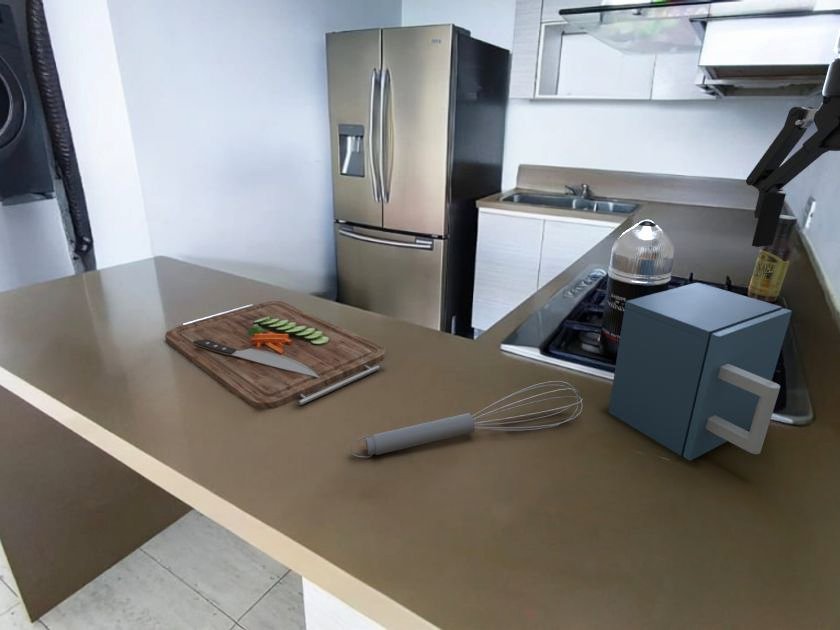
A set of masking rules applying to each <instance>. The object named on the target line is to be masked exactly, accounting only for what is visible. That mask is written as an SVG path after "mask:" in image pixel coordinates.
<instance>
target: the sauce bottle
mask: <svg viewBox="0 0 840 630" xmlns="http://www.w3.org/2000/svg"><path fill="white" fill-rule="evenodd" d="M797 221H798V217H796V216H793V215H786V214H785V215H784V214H780V218H779V222H778V226H777V229H776V233H775V237H774V241H773V244H772V245H770V246H762V247H761V248H760V249H759V252H758V256H757V259H756V261H755V266H754V267H753V272H752V275H751V279H750V282H749V285H748V290H747V297H750V298H753V299H757V300H760V301H764V302H767V303H773V302H776V301H777V300H778V296H780V294H781V293H780V292H781V289H782V286H783V283H784V280H785V278H786V275H787V271H788V268H789V265H790V262H791V257H792V254H793V250H794V245H793V242H792V234H793V232H794V231H793V230H794V227H795V225H796V224H797Z"/></svg>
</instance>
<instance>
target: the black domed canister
mask: <svg viewBox="0 0 840 630" xmlns="http://www.w3.org/2000/svg"><path fill="white" fill-rule="evenodd" d="M674 247H675V246H674V244H673V242H672V240H671V239H670V237H669V236H668V235H667V234H666V232H665V231H664V230H663V229H661V228H660V227H659V226H658V225H657V224H656V223H655V222H654V221H652V220H650V219H645V220H641V221H640V222H639V223H636V224H635V225H634V226H632V227H630V228H629V229H627V230H625V231H624V232H623V233H622V234H621V235H620V236H619V237H618V238H616V240H615V242H614V243H613V245H612V248H611V254H610V260H609V261H610V262H609V266H608V270H607V275H608V277H607V283H606V291H605V298H604V304H603V305H604V306H603V312H602V319H601V327H600V333H599V341H598V347H599V349H600V351H601V352H602V353H603V354H604V355H605V356H606V357H608V358H610V359H613V360H614V361H616V360H617V354H618V348H619V341H620V335H621V329H622V322H623V316H624V310H625V303H626V301H629V300H632V299H636V298H640V297H644V296H648V295H651V294H655V293H659V292H663V291H667V290H669V285H670V284H669V283H670V282H671V281H672V272H673V267H674V262H675V261H674V260H675V253H676V252H675V248H674ZM601 329H602V330H601Z"/></svg>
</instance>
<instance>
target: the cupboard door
mask: <svg viewBox="0 0 840 630" xmlns="http://www.w3.org/2000/svg"><path fill="white" fill-rule="evenodd" d="M792 313H793V310H791V309H787V308H782V309H781V310H779V311H776V312H773V313H770V314H767V315H764V316H761V317H759V318H756V319H753V320H750V321H747V322H744V323H741V324H738V325H735V326H733V327H730V328H727V329H724V330H721V331H718V332H715V333H712V334H711V338H710V343H709V347H708V351H707V355H706V360H705V364H704V368H703V373H702V377H701V381H700V386H699V390H698V394H697V398H696V403H695V407H694V411H693V416H692V420H691V424H690V429H689V433H688V437H687V442H686V446H685V450H684V454H683V455H682V457H683V458H684V459H686V460H688V461H693V460H694V459H696V458H698V457H700V456H702V455H704V454H706V453H708V452H710V451H711V450H713V449H716V448H718V447H720V446H721V445H723V444H725V443H727V442H728V443H731V444H732V445H734V446H736V447H739V448H740V449H742V450H744V451H746V452H748V453H750V454H752V455H759V454H761V452H762V449H763V445H764V443H765V439H766V436H767V433H768V430H769V426H770V422H771V419H772V417H773V412H774V410H775V406H776V403H777V400H778V396H779V393H780V389H781V385H780V384H778V383H777V382H775V381H773V378H774V376H775V375H774V374H775V370H776V367H777V364H778V361H779V357H780V353H781V350H782V347H783V343H784V340H785V337H786V333H787V330H788V326H789V323H790V321H791V317H792Z"/></svg>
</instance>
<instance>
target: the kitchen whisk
mask: <svg viewBox="0 0 840 630" xmlns="http://www.w3.org/2000/svg"><path fill="white" fill-rule="evenodd" d="M548 383H563V384H567V385H568V386H570V387H571V388H570V387H568V386H567V385H561V384H548ZM552 386H553V387H554V386H557V387H563V388H559V389H555V390H551V391H547V392H543V393H539V394H536V395H533V396H529V397H527V398H523V399H521V400H517V401H515V402H512V403H509V404H506V405H503V406H501V407H498V408H496V409H493V410H491V411H487V412H486V413H484V414H481V415H479V416H477V415H478V414H480V413H482V412H484V411H486V410H488V409H489V408H492V407H493V406H495V405H497V404H499V403H501V402H504V401H506V400H507V399H509V398H512V397H514V396H517V395H519V394H522V393H524V392H527V391H531V390H534V389H539V388H543V387H552ZM566 390H570V391H572V392H573V393H574V394H575V396H574V395H571V396H570V395H564V396H557V397H550V398H549V397H548V398H544V399H539V400H535V401H532V402H527V403H524V404H520V405H516V406H513V407H509V406H512V405H514V404H518V403H520V402H523V401H526V400H529V399H533V398H535V397H539V396H542V395H546V394H549V393H554V392H558V391H566ZM577 393H578V394H577ZM559 398H560V399H561V398H576V399H575V401H574V402H573V403H572V404H568V405H565V406H561V407H557V408H553V409H547V410H543V411H537V412H532V413H525V414H522V415H515V416H510V417H503V418H497V419H490V420H484V421H478V422H475V421H477V420H480V419H483V418H486V417H489V416H493V415H496V414H498V413H502V412H506V411H509V410H513V409H515V408H519V407H522V406H526V405H530V404H535V403H539V402H542V401H547V400H553V399H559ZM583 400H584V399H583V398H582V397H580V391H579V390H578V389H576V388H575V387H573V385H571V384H570V383H569V382H565V381H561V380H554V381H553V380H551V381H550V380H549V381H545V382H541V383H537V384H533V385H531V386H527V387H525V388H523V389H521V390H518V391H516V392H513V393H512V394H510V395H507V396H505V397H503V398H500V399H499V400H497V401H496V402H494V403H492V404H490V405H488V406H487V407H485V408H483V409H481V410H480V411H478V412H476V413H474V414H473V415H472V414H471V413H470V412H467V413H463V414H459V415H454V416H449V417H445V418H441V419H436V420H432V421H428V422H423V423H418V424H415V425H411V426H405V427H402V428H397V429H391V430H387V431H384V432H379V433H375V434H372V435H371V436H368V435H364V436H361V437H360V438H358V439H357V440H355V441H354V442H353V443H352V444H351V446H350V452H351V454H352V455H353V456H355V457H357V458H371V457H372V456H373V455H376V456H379V455H383V454H388V453H392V452H396V451H399V450H400V451H401V450H404V449H408V448H409V449H410V448H412V447H416V446H421V445H426V444H429V443H434V442H437V441H442V440H447V439H450V438H455V437H459V436H462V435H467V434H471V433H472V434H473V433H474V432H475V430H476V429H478V430H490V431H508V432H509V431H515V432H516V431H517V432H518V431H520V432H521V431H534V430H539V429H540V430H541V429H542V428H544V429H547V428H552V427H557V426H559V425H561V424H563V423H564V424H565V423H567V422H569V421H571V420H574V419H576V418H577V417H578V416H579V415H580V414H581V413H582V410H583V407H584V405H583V402H582V401H583ZM579 404H581V407H580V411H579V413H577V414H576V412H577V411H578V408H579ZM575 405H576V408H575V410H574V412H573V414H572V415H571V416H569V417H568V418H567V419H566V420H564V421H560V422H556V423H552V424H543V425H534V426H521V427H520V426H516V427H515V426H509V427H508V426H507V427H505V426H501V427H499V426H498V427H497V426H493V425H506V424H515V423H521V422H527V421H528V422H529V421H533V420H537V419H538V417H536V418H530V419H524V420H518V421H517V420H516V421H508V422H497V423H489V422H495V421H502V420H508V419H514V418H520V417H526V416H531V415H536V414H537V415H538V414H542V413H546V412H551V411H552V412H553V411H556V410H559V411H558V412H555V413H552V414H548V415H544V416H540V417H539V419H543V418H547V417H551V416H554V415H557V414H560V413H562V412H564V411H566V410H568V409H570V408H571V407H573V406H575ZM506 407H509V408H506ZM504 408H506V409H504ZM501 409H503V410H501ZM561 409H562V410H561ZM495 411H496V412H495ZM575 414H576V415H575ZM475 416H476V417H475ZM473 417H474V418H473ZM364 438H365V445H366V450H367V455H368V456H363V455H357V454H354V453H353V446H354V445H355V444H356V443H357V442H359V441H360V440H362V439H364Z"/></svg>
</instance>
